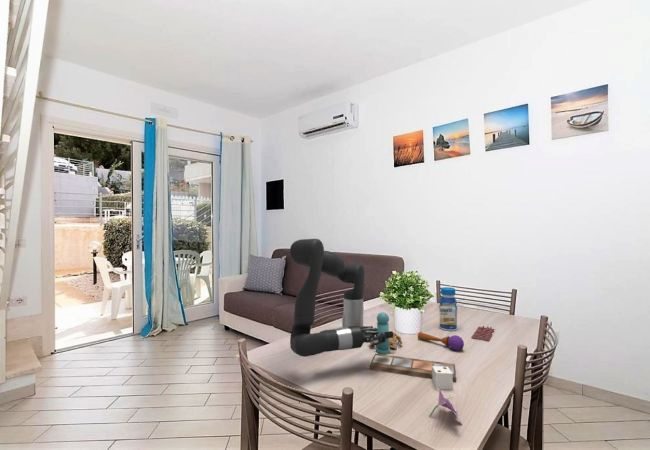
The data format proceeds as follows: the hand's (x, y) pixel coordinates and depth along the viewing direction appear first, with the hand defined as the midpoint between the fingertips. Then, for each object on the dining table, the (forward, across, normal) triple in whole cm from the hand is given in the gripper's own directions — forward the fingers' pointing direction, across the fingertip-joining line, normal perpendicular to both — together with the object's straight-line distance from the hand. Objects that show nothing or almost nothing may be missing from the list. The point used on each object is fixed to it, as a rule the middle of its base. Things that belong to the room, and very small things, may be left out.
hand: (389, 332), depth 119 cm
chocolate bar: (+59, +13, +13) cm, 61 cm away
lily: (-4, -35, +11) cm, 37 cm away
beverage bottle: (+49, +25, +12) cm, 56 cm away
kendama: (+30, +8, +12) cm, 34 cm away
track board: (+5, -7, +11) cm, 14 cm away
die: (+7, -20, +11) cm, 24 cm away
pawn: (-3, 0, +7) cm, 7 cm away
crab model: (+7, +15, +12) cm, 21 cm away
